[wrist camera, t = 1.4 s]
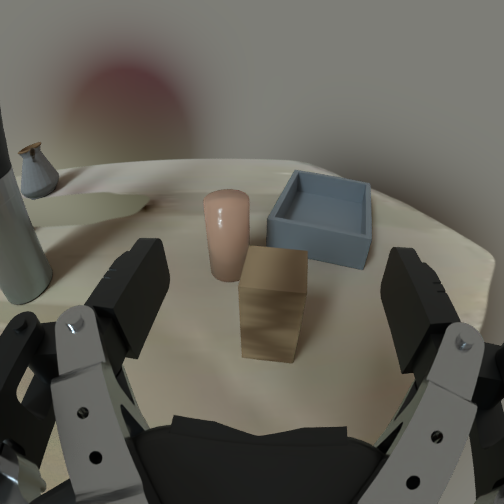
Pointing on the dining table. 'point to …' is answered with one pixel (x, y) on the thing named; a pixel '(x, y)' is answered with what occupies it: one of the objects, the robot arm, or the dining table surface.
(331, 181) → the blue-gray tote
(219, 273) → the terracotta cylinder
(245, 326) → the walnut block
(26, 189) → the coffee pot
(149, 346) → the dining table surface
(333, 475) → the robot arm
